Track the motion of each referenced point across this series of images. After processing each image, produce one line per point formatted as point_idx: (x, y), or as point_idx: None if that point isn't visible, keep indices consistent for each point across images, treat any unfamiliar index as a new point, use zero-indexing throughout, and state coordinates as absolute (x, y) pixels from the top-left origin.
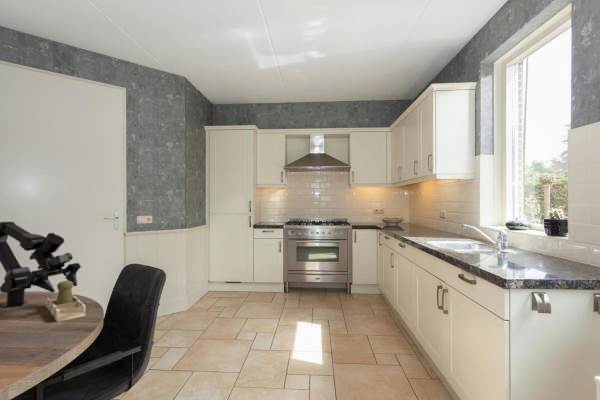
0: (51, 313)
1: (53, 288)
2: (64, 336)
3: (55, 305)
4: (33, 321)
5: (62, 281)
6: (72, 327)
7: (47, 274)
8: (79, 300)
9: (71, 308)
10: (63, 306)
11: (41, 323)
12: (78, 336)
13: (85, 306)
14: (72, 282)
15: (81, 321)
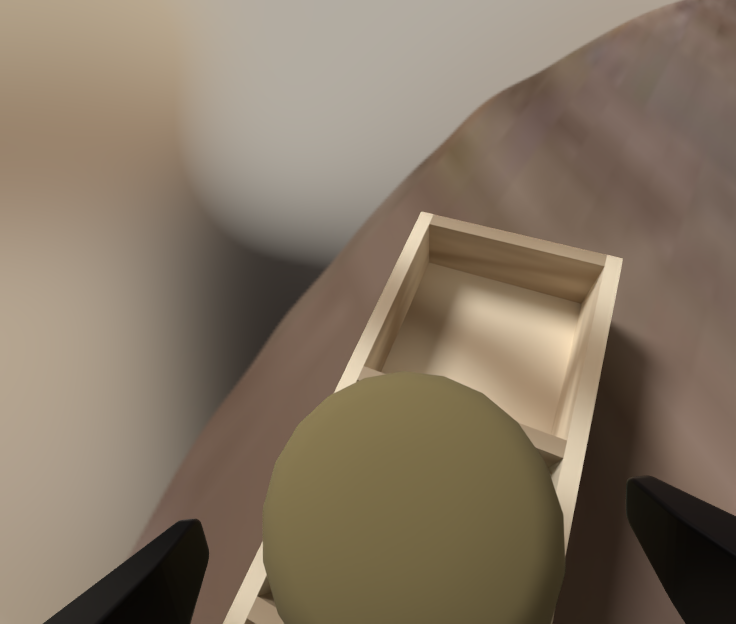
0: None
1: (671, 503)
2: (648, 100)
3: (562, 453)
4: (722, 502)
5: (445, 584)
6: (571, 162)
7: None
8: (338, 389)
9: (518, 235)
10: None
11: (681, 381)
12: (604, 65)
13: (421, 216)
14: (305, 418)
15: (493, 199)
